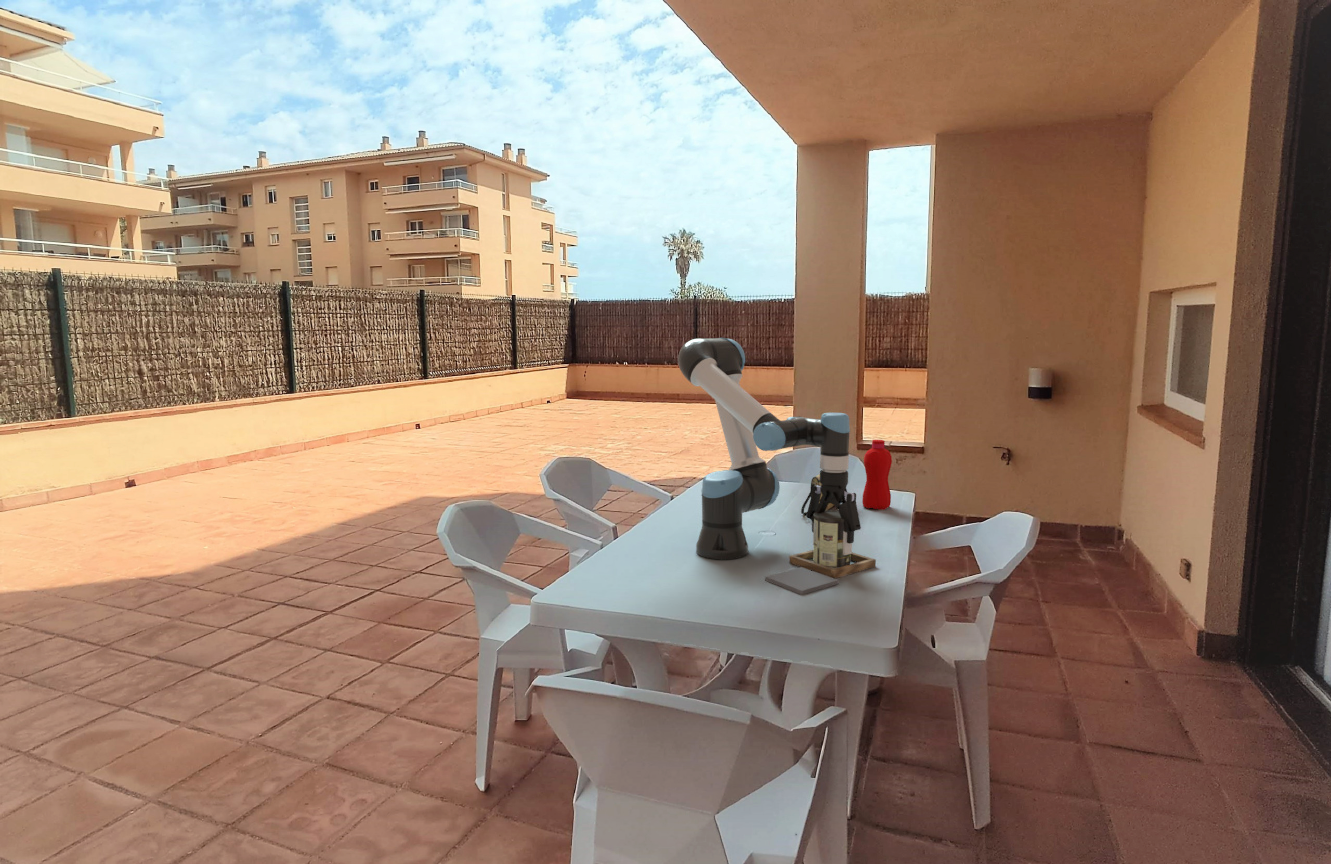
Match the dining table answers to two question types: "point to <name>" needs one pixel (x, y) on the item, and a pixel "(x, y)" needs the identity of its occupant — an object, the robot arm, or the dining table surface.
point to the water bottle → (877, 476)
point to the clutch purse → (814, 482)
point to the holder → (833, 573)
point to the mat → (801, 580)
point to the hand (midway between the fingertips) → (832, 549)
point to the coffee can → (829, 540)
